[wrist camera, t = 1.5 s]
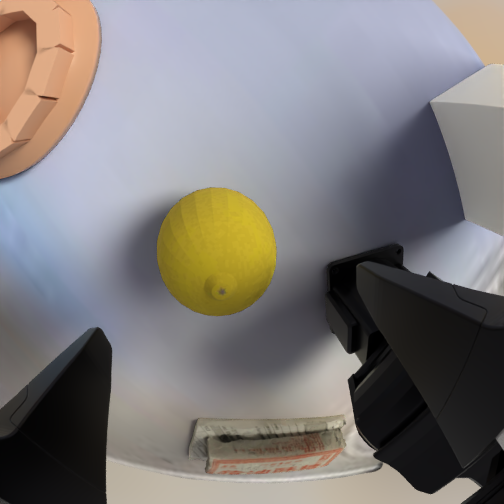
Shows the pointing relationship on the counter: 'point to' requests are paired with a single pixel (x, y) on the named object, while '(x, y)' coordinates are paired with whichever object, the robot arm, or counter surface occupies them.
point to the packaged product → (266, 444)
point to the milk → (476, 143)
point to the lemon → (216, 251)
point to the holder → (43, 75)
